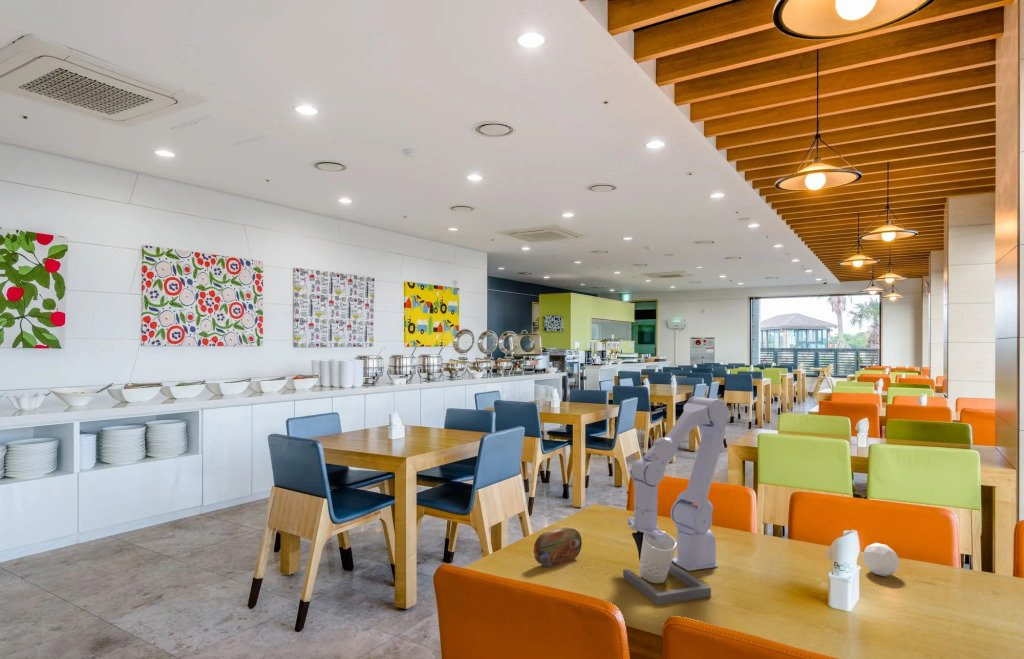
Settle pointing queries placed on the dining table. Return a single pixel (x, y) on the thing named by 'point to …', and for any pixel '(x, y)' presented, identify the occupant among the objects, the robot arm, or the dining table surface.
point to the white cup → (656, 558)
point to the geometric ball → (880, 559)
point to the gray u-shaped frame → (693, 592)
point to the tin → (557, 547)
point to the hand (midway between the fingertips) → (644, 562)
